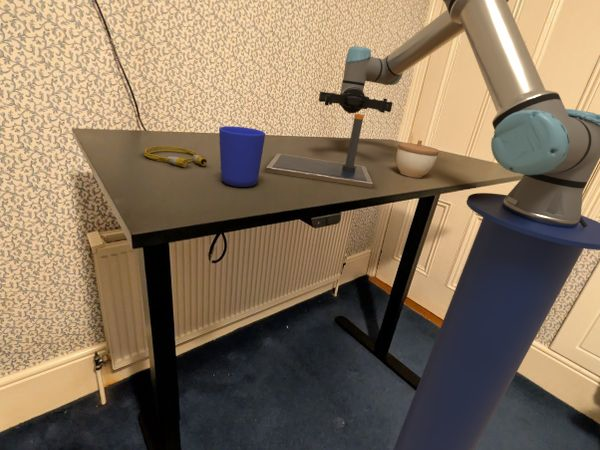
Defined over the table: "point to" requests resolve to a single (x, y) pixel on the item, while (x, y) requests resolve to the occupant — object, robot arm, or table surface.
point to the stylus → (353, 144)
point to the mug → (240, 155)
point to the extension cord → (176, 160)
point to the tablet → (318, 170)
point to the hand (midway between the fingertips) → (357, 103)
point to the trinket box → (415, 159)
